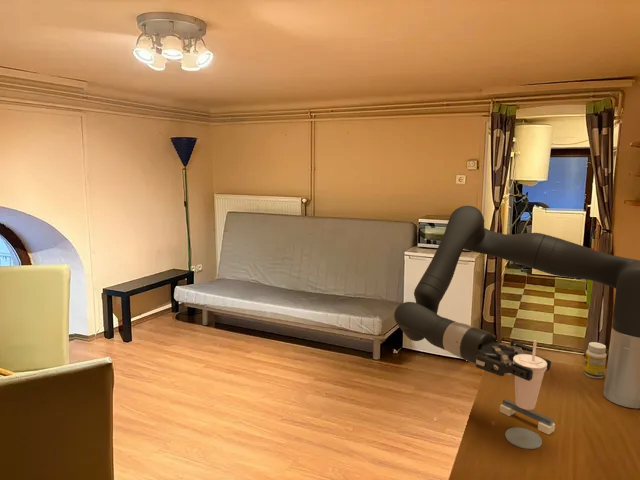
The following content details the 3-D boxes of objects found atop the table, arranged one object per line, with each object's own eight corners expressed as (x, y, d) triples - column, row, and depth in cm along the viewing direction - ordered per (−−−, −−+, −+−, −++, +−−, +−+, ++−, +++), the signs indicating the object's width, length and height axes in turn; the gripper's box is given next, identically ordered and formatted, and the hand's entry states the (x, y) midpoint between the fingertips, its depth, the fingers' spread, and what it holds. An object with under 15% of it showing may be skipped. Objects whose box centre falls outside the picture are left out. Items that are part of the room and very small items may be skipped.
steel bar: (502, 404, 112) (502, 399, 112) (505, 403, 112) (505, 398, 112) (549, 426, 103) (550, 421, 103) (552, 424, 104) (553, 419, 104)
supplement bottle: (585, 369, 134) (588, 340, 132) (604, 374, 131) (608, 344, 130) (582, 375, 130) (585, 345, 128) (602, 380, 127) (606, 350, 126)
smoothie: (545, 415, 97) (553, 348, 94) (511, 411, 98) (518, 345, 95) (538, 398, 103) (545, 335, 100) (506, 395, 104) (512, 332, 101)
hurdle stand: (499, 411, 112) (500, 405, 112) (505, 408, 113) (506, 401, 113) (548, 434, 103) (549, 427, 103) (554, 430, 104) (555, 423, 104)
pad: (510, 425, 106) (510, 423, 106) (545, 436, 102) (545, 435, 102) (500, 440, 101) (501, 439, 101) (537, 453, 97) (537, 451, 97)
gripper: (449, 334, 105) (523, 362, 92) (489, 320, 113) (561, 344, 100) (447, 367, 106) (519, 399, 93) (486, 350, 115) (557, 378, 102)
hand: (540, 370), depth 97 cm, fingers closed on smoothie, 6 cm apart
